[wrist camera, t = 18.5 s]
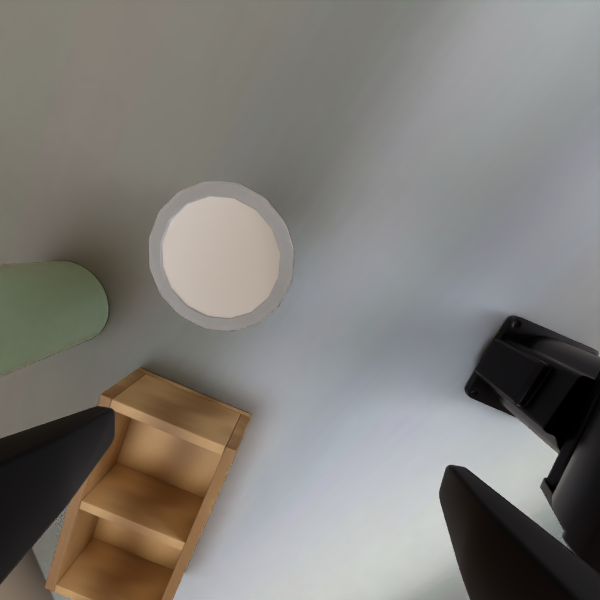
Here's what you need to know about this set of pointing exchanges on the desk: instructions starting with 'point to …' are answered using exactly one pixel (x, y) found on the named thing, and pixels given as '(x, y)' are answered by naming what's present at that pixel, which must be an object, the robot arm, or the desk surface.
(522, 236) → the desk surface
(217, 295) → the shot glass
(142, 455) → the crate
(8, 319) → the bottle
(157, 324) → the desk surface
